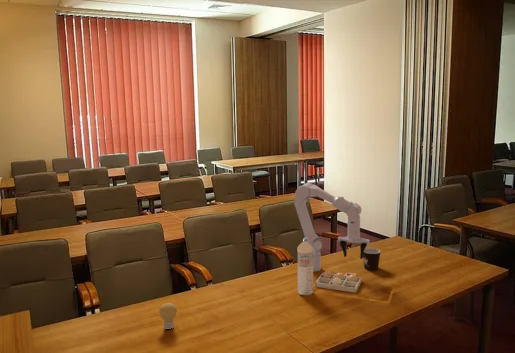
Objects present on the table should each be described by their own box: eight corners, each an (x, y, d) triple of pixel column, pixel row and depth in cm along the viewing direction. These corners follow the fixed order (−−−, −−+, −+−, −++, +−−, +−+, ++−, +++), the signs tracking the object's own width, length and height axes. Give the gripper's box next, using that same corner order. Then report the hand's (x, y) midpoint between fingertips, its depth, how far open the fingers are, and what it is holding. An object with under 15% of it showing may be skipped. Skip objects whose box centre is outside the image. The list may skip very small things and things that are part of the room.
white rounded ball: (330, 288, 197) (330, 279, 196) (333, 284, 201) (333, 275, 200) (340, 289, 195) (340, 280, 194) (343, 285, 199) (342, 276, 198)
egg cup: (342, 279, 208) (343, 276, 208) (345, 275, 213) (345, 271, 213) (354, 281, 206) (354, 277, 205) (357, 276, 211) (357, 273, 210)
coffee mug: (382, 273, 214) (382, 253, 212) (364, 273, 214) (364, 254, 213) (376, 264, 226) (376, 245, 224) (359, 264, 226) (359, 246, 224)
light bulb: (170, 322, 171) (168, 298, 170) (181, 327, 167) (179, 302, 166) (157, 329, 166) (155, 304, 165) (167, 334, 162) (166, 309, 161)
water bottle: (295, 294, 193) (294, 240, 189) (301, 288, 199) (300, 235, 195) (309, 297, 190) (309, 242, 186) (315, 291, 196) (315, 237, 192)
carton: (315, 288, 199) (315, 277, 198) (322, 278, 210) (322, 268, 209) (355, 294, 191) (355, 283, 190) (361, 283, 202) (361, 273, 202)
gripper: (336, 230, 206) (336, 258, 208) (367, 233, 200) (367, 261, 202) (340, 226, 212) (339, 253, 215) (370, 229, 206) (369, 256, 209)
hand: (353, 257), depth 209 cm, fingers open, 7 cm apart
